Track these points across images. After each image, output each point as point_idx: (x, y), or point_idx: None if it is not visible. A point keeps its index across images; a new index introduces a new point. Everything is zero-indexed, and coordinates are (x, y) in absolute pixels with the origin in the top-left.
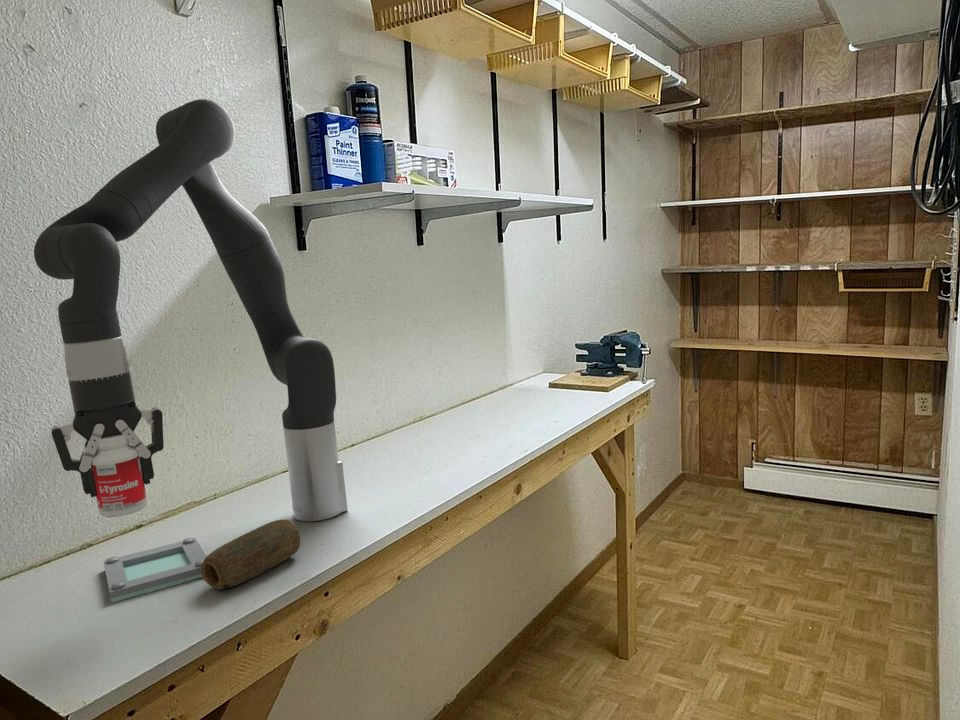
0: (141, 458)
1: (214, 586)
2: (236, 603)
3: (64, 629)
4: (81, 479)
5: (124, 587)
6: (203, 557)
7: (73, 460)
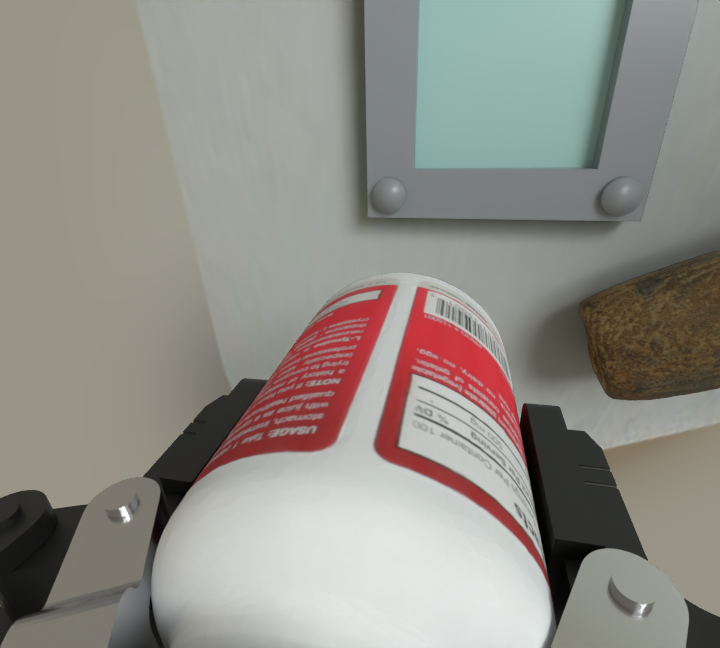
0: (554, 600)
1: (587, 336)
2: (594, 405)
3: (286, 278)
4: (172, 449)
5: (402, 211)
6: (651, 137)
7: (44, 596)
